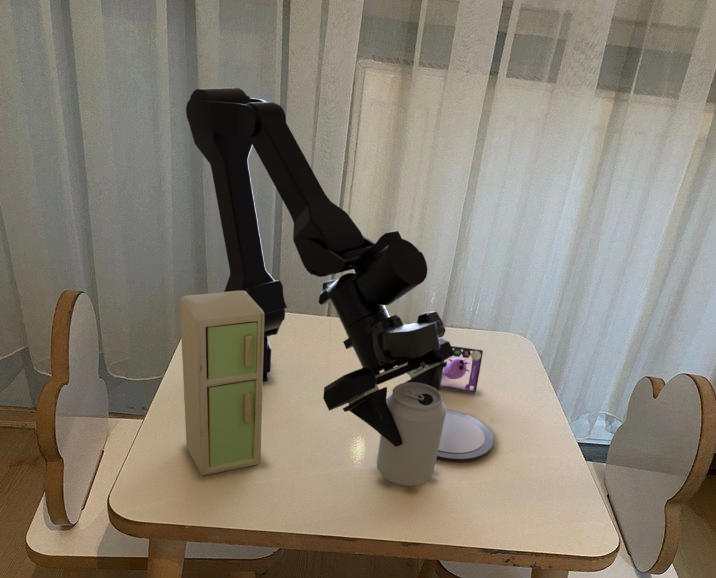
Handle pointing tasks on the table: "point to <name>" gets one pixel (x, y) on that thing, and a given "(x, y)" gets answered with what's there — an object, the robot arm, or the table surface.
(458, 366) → the game card
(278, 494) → the table surface
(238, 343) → the toy refrigerator
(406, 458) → the can
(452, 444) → the coaster
